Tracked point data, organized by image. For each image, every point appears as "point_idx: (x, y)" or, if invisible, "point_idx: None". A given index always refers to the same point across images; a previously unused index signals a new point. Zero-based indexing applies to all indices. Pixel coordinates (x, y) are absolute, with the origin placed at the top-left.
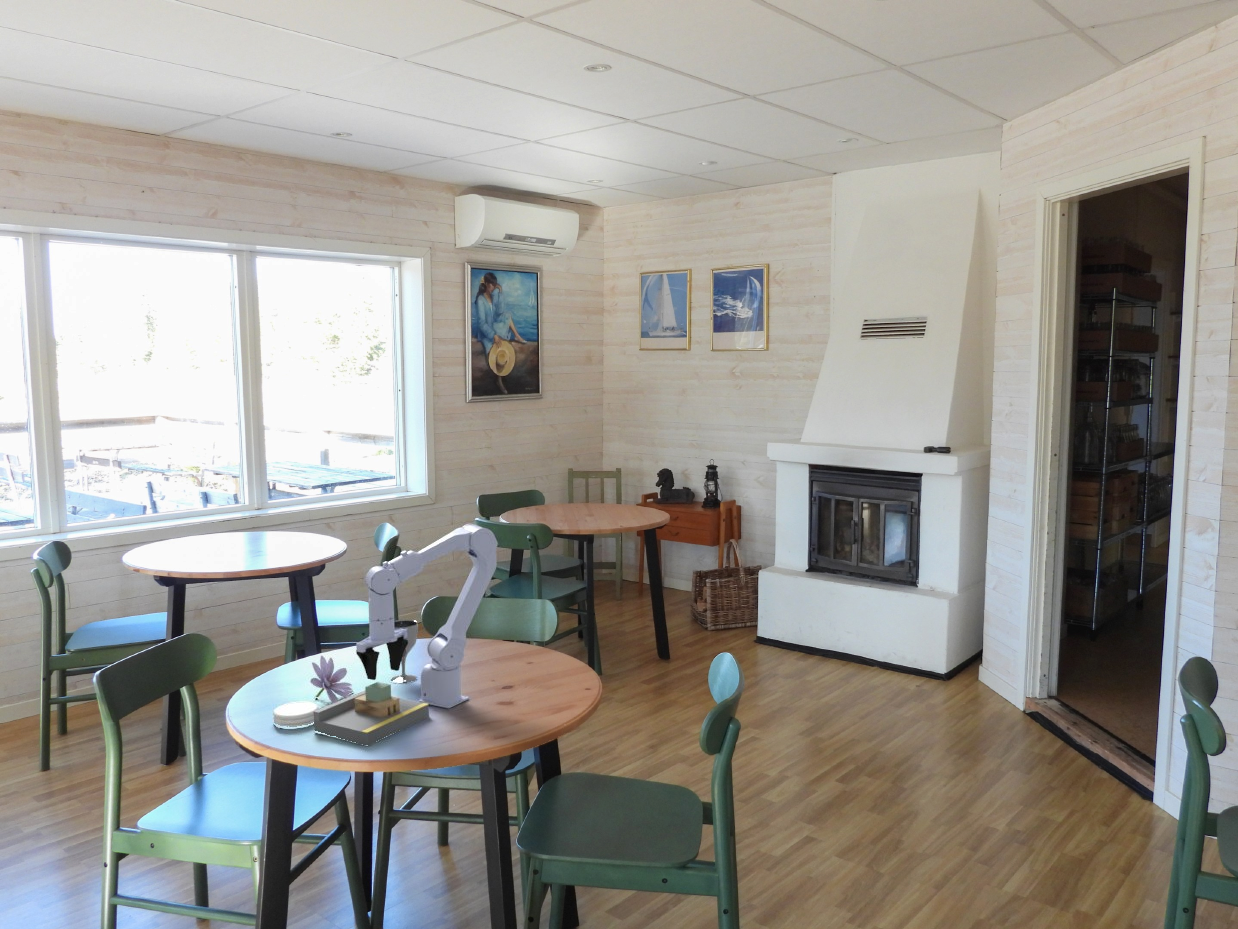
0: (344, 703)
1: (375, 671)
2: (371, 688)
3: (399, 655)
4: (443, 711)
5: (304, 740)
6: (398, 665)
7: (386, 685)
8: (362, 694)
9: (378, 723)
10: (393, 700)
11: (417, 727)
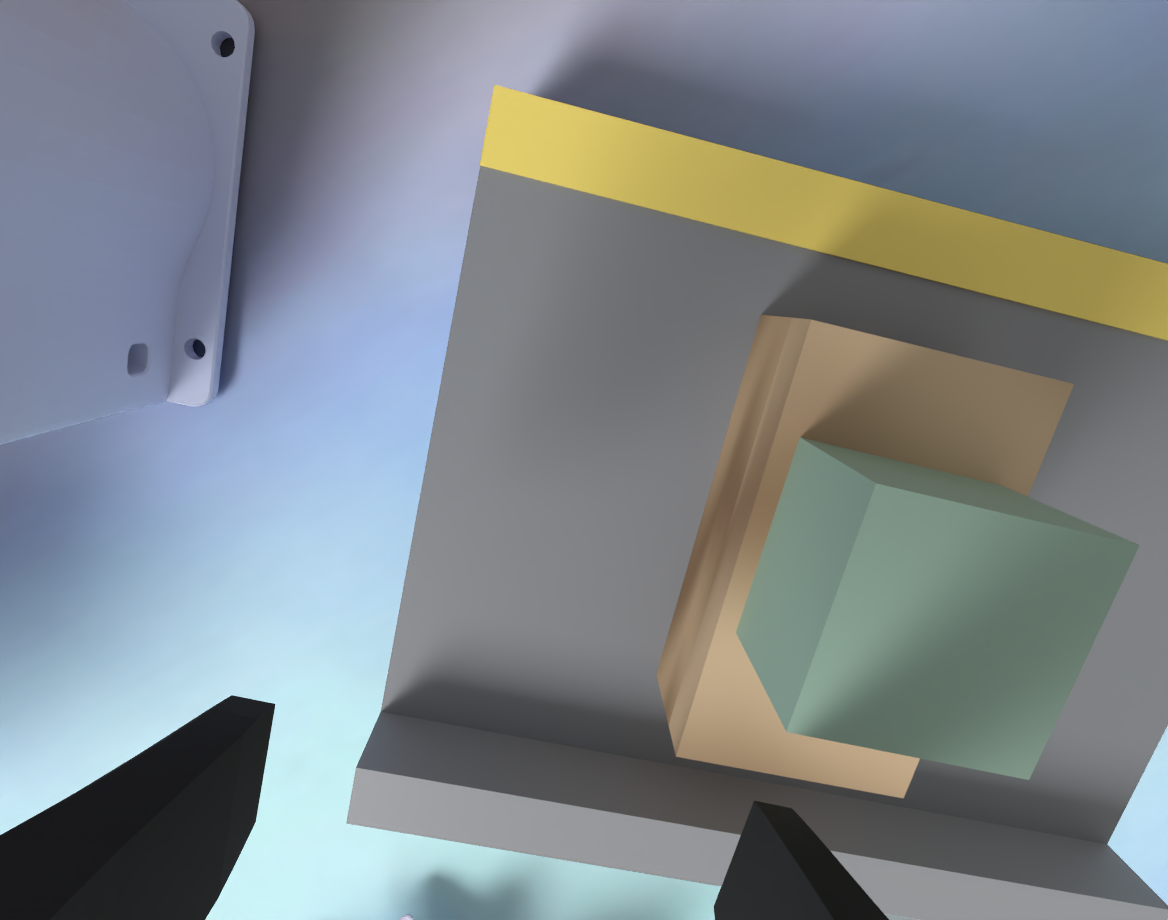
0: (868, 845)
1: (850, 907)
2: (1074, 672)
3: (56, 916)
4: (327, 48)
5: (1138, 795)
6: (218, 746)
7: (928, 527)
8: (638, 817)
9: (1127, 342)
10: (910, 347)
11: (778, 102)
